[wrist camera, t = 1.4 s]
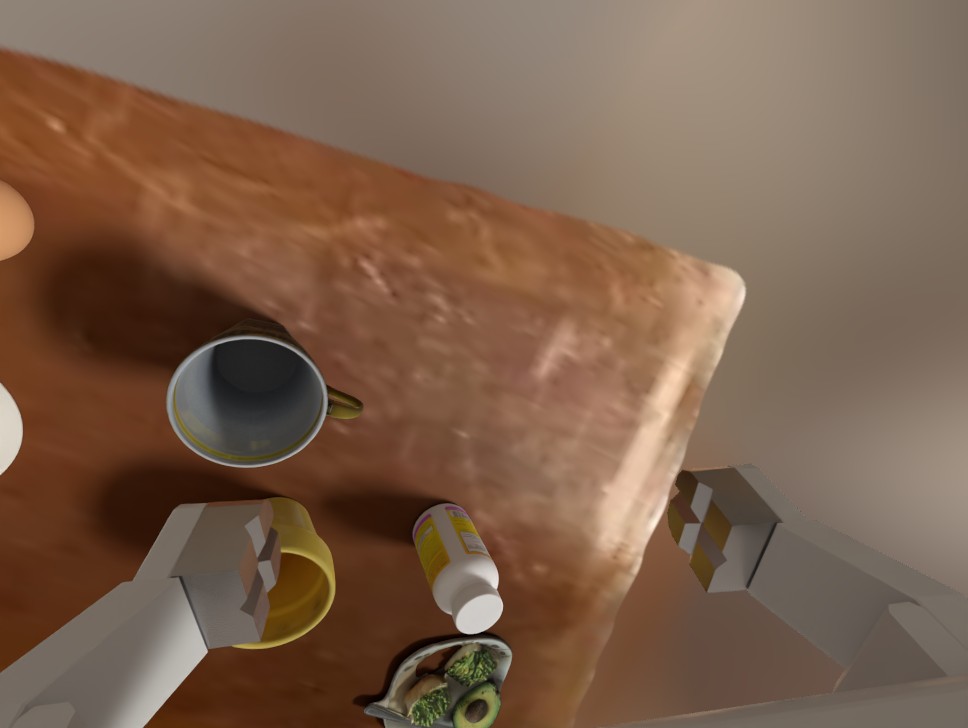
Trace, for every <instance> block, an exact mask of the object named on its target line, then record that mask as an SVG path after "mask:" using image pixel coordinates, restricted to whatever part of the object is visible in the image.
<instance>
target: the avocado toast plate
mask: <svg viewBox="0 0 968 728" xmlns="http://www.w3.org/2000/svg"><path fill="white" fill-rule="evenodd" d="M455 645H462V647H461V648H460V649H459V650H457V652H456V653H455V654H454V655H453V656H452V657H451V658H450V659H449V661H448V662H447V663H446V665H445V666H444V667H443V668H441V669H440V670H438V671H436V672H434V673H432V674H428V673H426V674H424V675H423V676H421V677H416V666H417V664H418V663H419V662H420V661H422V660H423V659H424V658H426V657H427V656H429V655H431V654H432V653H434V652H436V651H438V650H441V649H443V648H447V647H451V646H455ZM511 660H512V650H511V647H510V646H509V645H508V644H507V643H506V642H505V641H504V640H503V639H501V638H499V637H497V636H492V635H486V634H478V635H473V636H469V637H462V638H455V639H450V640H446V641H442V642H438V643H434V644H430V645H428V646H425V647H423V648H421V649H419V650H417V651H416V652H414V653H413V654H411V655H410V656H409V657H408V658H406V659H405V660H404V661H403V662H402V663H401V664H400V666H399V667H398V669H397V670H396V672H395V674H394V676H393V679H392V681H391V685H390V688H389V690H388V692H387V694H386V696H385V697H384V698H383V699H382V700H381V701H378V702H373V703H370V704H369V705H367V706H366V707H365V708H364V713H365V714H367V715H370V716H374V717H378V718H382V719H383V722H384V726H385V728H489V727H490V726H491V725H492V723H493V722H494V720H495V719H496V717H497V715H498V713H499V710H500V706H501V697H500V696H501V693H500V690H501V687H502V684H503V681H504V678H505V677H506V674H507V671H508V669H509V667H510V664H511Z"/></svg>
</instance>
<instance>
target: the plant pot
mask: <svg viewBox="0 0 968 728" xmlns="http://www.w3.org/2000/svg"><path fill="white" fill-rule="evenodd" d="M263 500H268V501H270V502H271V505H272V509H273V512H274V517H273V520H272V523H271V527H272V528H273V529H275V530H276V531H277V532H278V533H279V538H280V545H281V560H280V570H279V574H278V578H277V582H276V585H275V586H274V587H273V588H272V589H271V590H270V591H268V592H267V596H268V600H269V604H270V608H269V612H268V616H267V619H266V623H265V627H264V630H263V634H262V638H261V641H260V642H254V643H247V644H240V645H232V646H233V647H237V648H245V649H262V648H269V647H274V646H278V645H282V644H285V643H287V642H290V641H292V640H294V639H297V638H298V637H300V636H302V635H304V634H305V633H307V632H308V631H310V630H311V629H312V628H313V627H314V626H316V625H317V624H318V623H319V622H320V621H321V620H322V619H323V617H324V616H325V615H326V613H327V612H328V610H329V608H330V606H331V604H332V602H333V599H334V595H335V574H334V566H333V560H332V556H331V553H330V550H329V548H328V547H327V545H326V544H325V542H324V541H323V540H322V539H321V538H320V537H319V536H317V534H316V531H315V529H314V527H313V524H312V522H311V519H310V517H309V514H308V512H307V510H306V509H305V508H304V507H303V506H302V505H301V504H300V503H298V502H296V501H295V500H292V499H289V498H284V497H273V498H267V499H263Z"/></svg>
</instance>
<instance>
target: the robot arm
mask: <svg viewBox="0 0 968 728" xmlns="http://www.w3.org/2000/svg"><path fill="white" fill-rule="evenodd" d="M675 485H676V487H677V488H678V490H679V493H678V494H677V495H676V496H675V497H674V498H673V499H671V500H670V504H669V508H668V523H669V528H670V530H671V534H672V536H673V538H674V540H675V541H676V543H677V545H678V546H679V547H680V548H682V549H683V550H685V551H686V552H688V553H689V554H691V557H690V563H689V564H690V566H691V568H692V569H693V571H694V573H695V574H696V576H697V578H698V579H699V581H700V582H701V584H702V586H703V587H704V589H705V591H706V592H707V593H711V592H723V591H736V590H748V591H747V592H748V593H749V594H750V595H752V596H753V597H754V598H755V599H757V600H758V601H759V602H761V603H762V604H763V605H764V606H766V607H767V608H768V609H769V610H771V611H772V612H773V613H774V614H776V615H777V616H778V617H780V618H781V619H782V620H783V621H785V622H786V623H787V624H788V625H790V626H791V627H792V628H794V629H795V630H796V631H797V632H799V633H800V634H801V635H803V636H804V637H805V638H806V639H807V640H809V641H810V642H811V643H813V644H814V645H815V646H816V647H818V648H819V649H820V650H821V651H823V652H824V653H825V654H827V655H828V656H829V657H830V658H832V659H833V660H834V661H835V662H837V663H838V664H839V665H841V666H842V667H843V668H844V669H845V671H844V672H843V674H842V675H841V677H840V678H839V680H838V681H837V683H836V684H835V686H834V690H833V693H829V694H822V695H816V696H809V697H802V698H795V699H788V700H781V701H774V702H768V703H761V704H754V705H747V706H740V707H733V708H726V709H719V710H712V711H705V712H699V713H692V714H685V715H678V716H671V717H664V718H657V719H650V720H644V721H637V722H630V723H623V724H616V725H609V726H602V727H595V728H968V598H967V597H966V596H965V595H963V594H962V593H960V592H958V591H956V590H954V589H952V588H950V587H948V586H946V585H944V584H942V583H940V582H938V581H936V580H934V579H932V578H930V577H928V576H926V575H924V574H922V573H920V572H918V571H917V570H915V569H913V568H910V567H909V566H907V565H905V564H903V563H901V562H899V561H897V560H895V559H893V558H891V557H889V556H887V555H885V554H883V553H881V552H879V551H877V550H875V549H873V548H871V547H869V546H867V545H865V544H863V543H861V542H859V541H857V540H855V539H853V538H851V537H849V536H847V535H845V534H843V533H841V532H839V531H837V530H835V529H833V528H831V527H829V526H827V525H825V524H823V523H821V522H819V521H817V520H808V519H807V518H806V517H805V516H804V515H803V514H802V513H801V511H799V509H798V508H797V507H796V506H795V505H794V504H793V503H792V502H791V501H790V500H789V499H788V498H787V497H786V496H785V495H784V494H783V493H782V492H781V491H780V490H779V489H778V488H777V487H776V485H775V484H774V483H773V482H771V480H770V479H769V478H768V477H767V476H766V475H765V474H764V473H763V472H762V471H761V470H760V469H759V468H758V467H756V466H754V465H752V464H744V465H732V466H727V467H725V466H723V467H711V468H698V469H685V470H682V471H681V472H680V473H679V474H678V477H677V480H676V483H675ZM273 517H274V512H273V509H272V505H271V502H270V501H268V500H246V501H226V502H210V503H197V504H180V505H179V506H178V507H176V508H175V509H174V510H173V511H172V513H171V515H170V516H169V518H168V520H167V522H166V523H165V525H164V527H163V529H162V530H161V532H160V534H159V536H158V537H157V539H156V541H155V543H154V544H153V546H152V548H151V550H150V551H149V553H148V555H147V557H146V558H145V560H144V562H143V564H142V565H141V567H140V569H139V571H138V572H137V574H136V576H135V578H134V579H133V581H131V582H123V583H121V584H120V585H118V586H117V587H116V588H114V589H113V590H112V591H110V592H109V593H108V594H106V595H105V596H104V597H102V598H101V599H100V600H98V601H97V602H95V603H94V604H93V605H91V606H90V607H89V608H87V609H86V610H85V611H83V612H82V613H81V614H79V615H78V616H77V617H75V618H74V619H73V620H71V621H70V622H68V623H67V624H66V625H64V626H63V627H62V628H60V629H59V630H58V631H56V632H55V633H54V634H52V635H51V636H50V637H48V638H47V639H45V640H44V641H43V642H41V643H40V644H39V645H37V646H36V647H35V648H33V649H32V650H31V651H29V652H28V653H27V654H25V655H24V656H22V657H21V658H20V659H18V660H17V661H16V662H14V663H13V664H12V665H10V666H9V667H8V668H6V669H5V670H4V671H2V672H1V673H0V728H143V727H144V726H145V724H146V723H147V722H148V721H149V720H150V719H151V717H152V716H153V715H154V714H155V713H156V712H157V710H158V709H159V708H160V707H161V706H162V705H163V703H164V702H165V701H166V700H167V699H168V698H169V696H170V695H171V694H172V693H173V692H174V691H175V690H176V688H177V687H178V686H179V685H180V684H181V683H182V681H183V680H184V679H185V678H186V677H187V676H188V674H189V673H190V672H191V671H192V670H193V669H194V667H195V666H196V665H197V664H198V663H199V662H200V661H201V659H202V658H203V657H204V656H205V655H206V654H207V652H208V650H207V649H210V648H218V647H225V646H232V645H240V644H247V643H254V642H260V641H261V638H262V634H263V630H264V627H265V623H266V619H267V616H268V612H269V608H270V604H269V600H268V596H267V592H268V591H270V590H271V589H272V588H273V587H274V586H275V585H276V582H277V578H278V574H279V570H280V560H281V545H280V538H279V533H278V532H277V531H276V530H275V529H273V528H272V527H271V523H272V520H273Z"/></svg>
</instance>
